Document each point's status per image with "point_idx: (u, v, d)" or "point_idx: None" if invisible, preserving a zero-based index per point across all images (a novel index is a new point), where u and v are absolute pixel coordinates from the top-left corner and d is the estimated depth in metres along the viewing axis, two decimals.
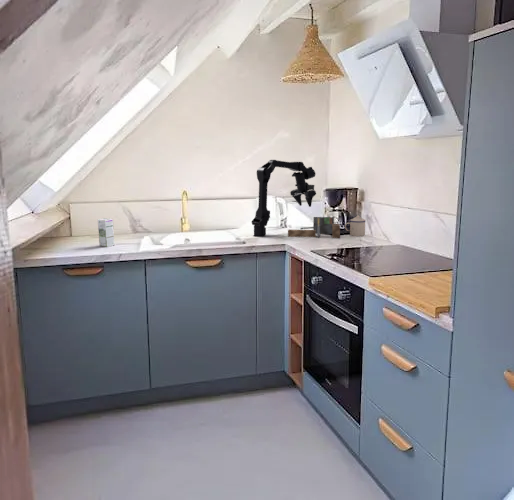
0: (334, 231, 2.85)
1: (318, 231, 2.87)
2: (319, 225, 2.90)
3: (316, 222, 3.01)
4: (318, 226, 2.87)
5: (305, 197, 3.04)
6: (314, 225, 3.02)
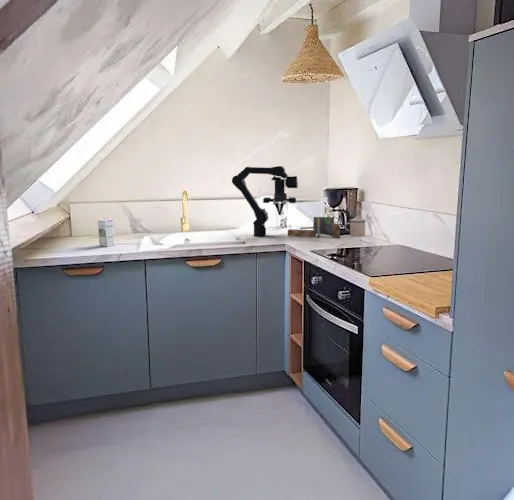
0: (334, 231, 2.85)
1: (318, 231, 2.87)
2: (319, 225, 2.90)
3: (316, 222, 3.01)
4: (318, 226, 2.87)
5: None
6: (314, 225, 3.02)
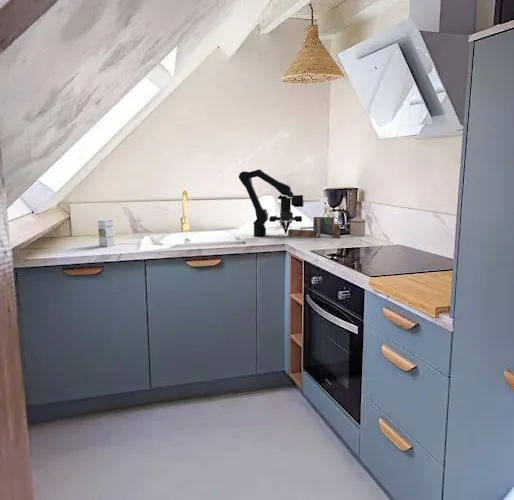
0: (334, 231, 2.85)
1: (318, 231, 2.87)
2: (319, 225, 2.90)
3: (316, 222, 3.01)
4: (318, 226, 2.87)
5: None
6: (314, 225, 3.02)
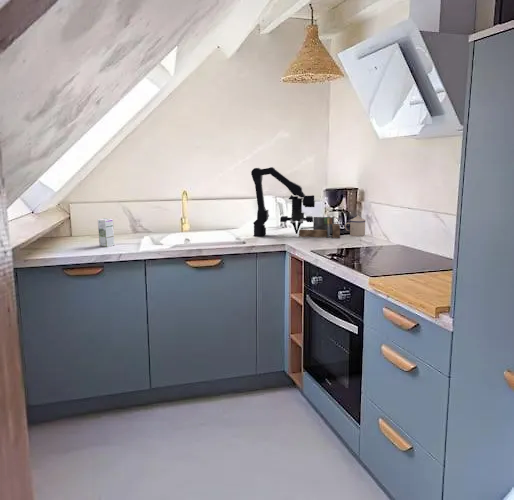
0: (334, 231, 2.85)
1: (328, 231, 2.86)
2: (329, 225, 2.90)
3: (316, 222, 3.01)
4: (328, 226, 2.86)
5: (294, 221, 2.95)
6: (314, 225, 3.02)
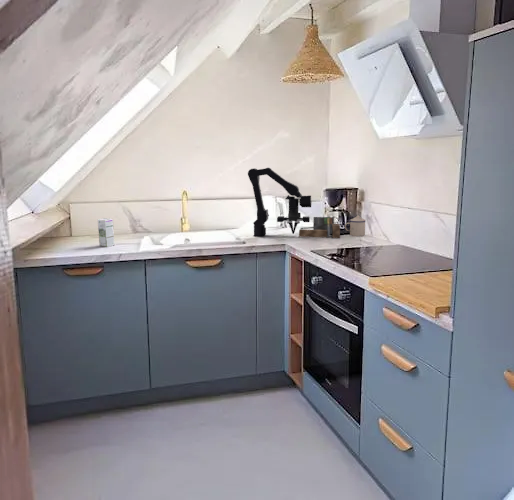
0: (334, 231, 2.85)
1: (328, 231, 2.86)
2: (329, 225, 2.90)
3: (316, 222, 3.01)
4: (328, 226, 2.86)
5: None
6: (314, 225, 3.02)
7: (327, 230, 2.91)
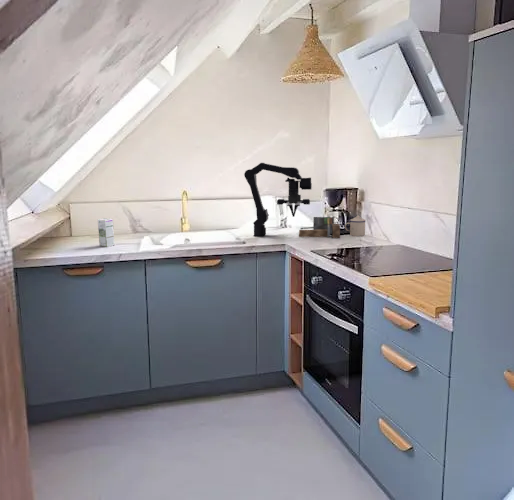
0: (334, 231, 2.85)
1: (328, 231, 2.86)
2: (329, 225, 2.90)
3: (316, 222, 3.01)
4: (328, 226, 2.86)
5: (291, 204, 2.93)
6: (314, 225, 3.02)
7: None
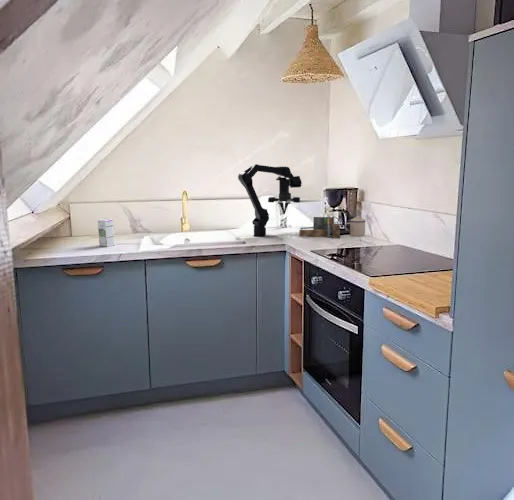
0: (334, 231, 2.85)
1: (328, 231, 2.86)
2: (329, 225, 2.90)
3: (316, 222, 3.01)
4: (328, 226, 2.86)
5: None
6: (314, 225, 3.02)
7: (327, 230, 2.91)
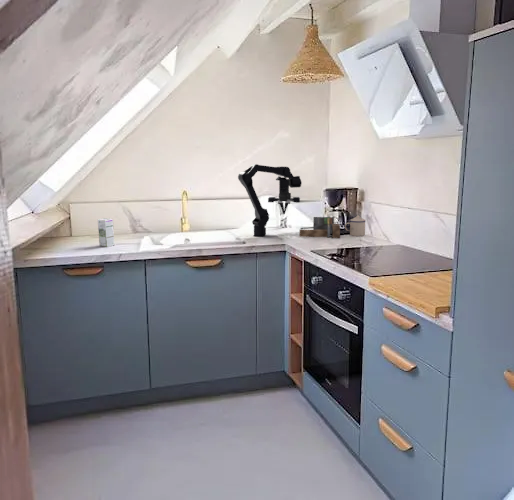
0: (334, 231, 2.85)
1: (328, 231, 2.86)
2: (329, 225, 2.90)
3: (316, 222, 3.01)
4: (328, 226, 2.86)
5: None
6: (314, 225, 3.02)
7: (327, 230, 2.91)
